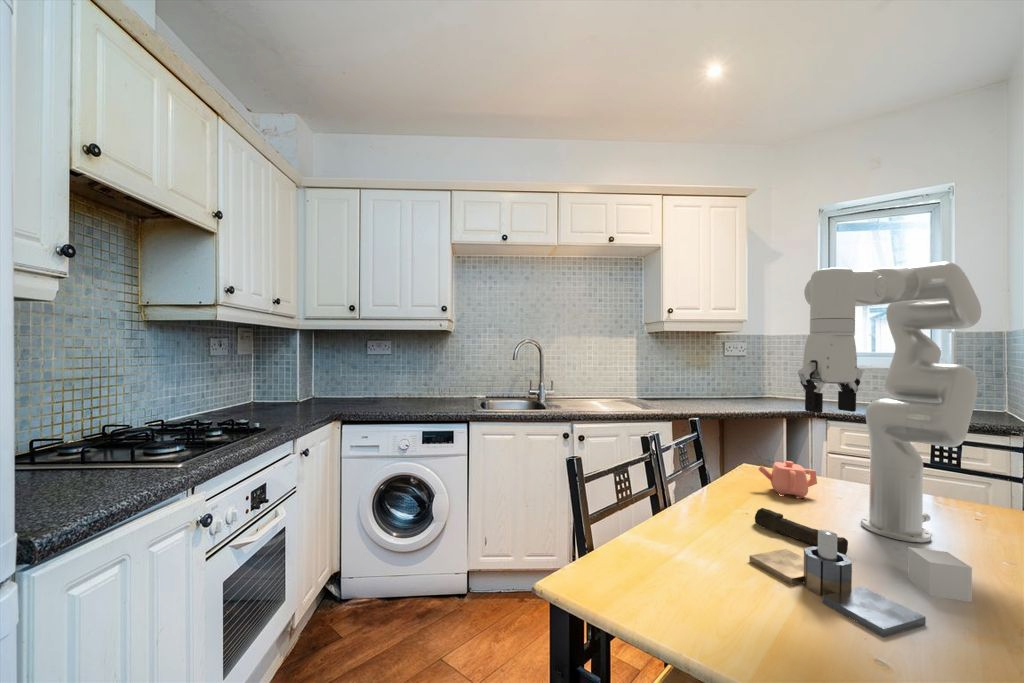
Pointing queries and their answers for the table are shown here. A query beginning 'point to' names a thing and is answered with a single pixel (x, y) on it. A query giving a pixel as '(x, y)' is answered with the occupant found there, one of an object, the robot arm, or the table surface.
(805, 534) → the hand tool
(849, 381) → the robot arm
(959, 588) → the light grey cube
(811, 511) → the table surface
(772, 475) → the teapot
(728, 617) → the table surface
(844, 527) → the table surface
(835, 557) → the hinge pin
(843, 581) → the hinge
